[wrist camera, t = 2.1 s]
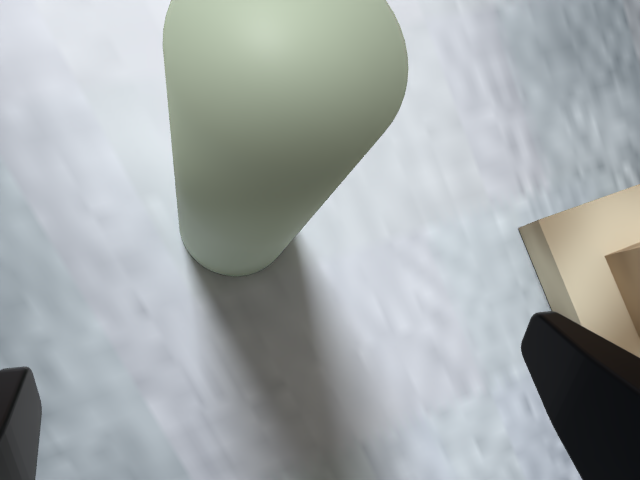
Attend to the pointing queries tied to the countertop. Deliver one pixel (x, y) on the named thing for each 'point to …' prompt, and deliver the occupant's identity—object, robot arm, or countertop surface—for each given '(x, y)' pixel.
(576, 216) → the socket base
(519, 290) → the countertop surface
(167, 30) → the post
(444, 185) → the countertop surface
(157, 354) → the countertop surface
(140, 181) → the countertop surface
